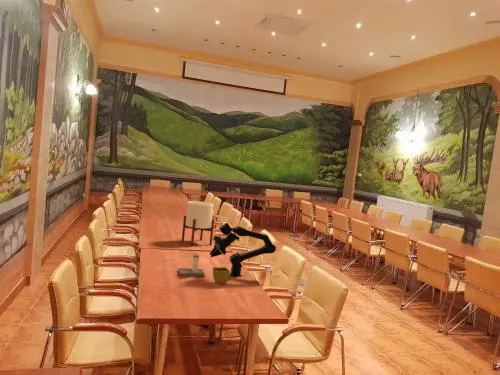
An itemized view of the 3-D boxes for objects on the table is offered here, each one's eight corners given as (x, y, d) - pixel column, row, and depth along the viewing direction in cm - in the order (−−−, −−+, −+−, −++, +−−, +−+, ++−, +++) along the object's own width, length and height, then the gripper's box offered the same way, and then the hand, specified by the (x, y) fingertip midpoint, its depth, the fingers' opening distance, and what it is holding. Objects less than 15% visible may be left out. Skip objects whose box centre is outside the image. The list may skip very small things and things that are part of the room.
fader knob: (196, 269, 282) (198, 254, 282) (197, 272, 276) (199, 256, 275) (191, 269, 282) (192, 253, 281) (192, 272, 275) (193, 256, 275)
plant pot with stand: (213, 245, 373) (217, 205, 371) (190, 246, 360) (194, 204, 358) (201, 239, 392) (205, 201, 389) (179, 240, 379) (183, 200, 376)
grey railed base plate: (202, 271, 286) (202, 267, 286) (204, 276, 275) (204, 273, 274) (178, 270, 282) (178, 266, 282) (179, 275, 271) (179, 272, 271)
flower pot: (211, 281, 267) (212, 267, 266) (224, 280, 270) (225, 267, 270) (215, 285, 259) (217, 271, 258) (228, 285, 262) (230, 271, 262)
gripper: (218, 228, 290) (201, 243, 288) (223, 234, 272) (204, 250, 270) (228, 240, 292) (211, 255, 290) (234, 246, 274) (215, 262, 272)
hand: (210, 255), depth 280 cm, fingers open, 5 cm apart
